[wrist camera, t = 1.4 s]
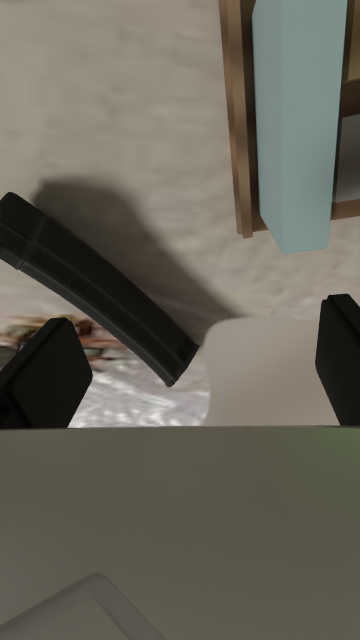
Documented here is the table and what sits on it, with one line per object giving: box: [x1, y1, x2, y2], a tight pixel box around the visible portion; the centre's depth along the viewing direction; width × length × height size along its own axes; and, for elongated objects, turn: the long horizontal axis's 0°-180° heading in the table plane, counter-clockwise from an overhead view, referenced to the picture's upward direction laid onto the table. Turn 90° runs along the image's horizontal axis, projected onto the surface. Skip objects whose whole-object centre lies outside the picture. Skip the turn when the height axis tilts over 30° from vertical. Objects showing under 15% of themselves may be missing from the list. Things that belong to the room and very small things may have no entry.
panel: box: [251, 0, 347, 254], centre depth 23 cm, size 16×3×14 cm, turn 10°
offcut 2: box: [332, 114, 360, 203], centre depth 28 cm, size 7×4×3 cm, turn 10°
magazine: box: [0, 192, 200, 387], centre depth 36 cm, size 17×3×30 cm
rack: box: [219, 0, 360, 238], centre depth 27 cm, size 20×16×3 cm
